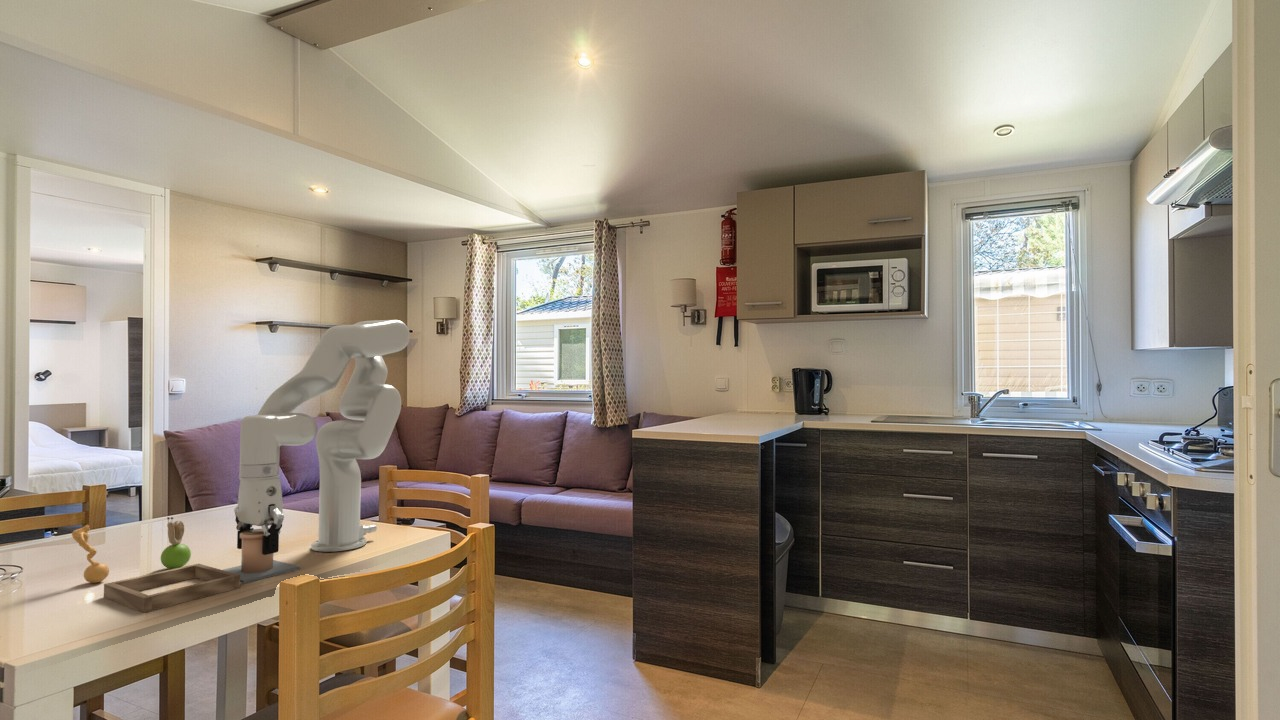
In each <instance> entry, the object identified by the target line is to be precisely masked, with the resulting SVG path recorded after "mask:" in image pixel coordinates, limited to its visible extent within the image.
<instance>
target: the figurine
mask: <svg viewBox="0 0 1280 720" xmlns="http://www.w3.org/2000/svg"><path fill="white" fill-rule="evenodd" d="M90 531H91V528H90V525H88V524H86V525H84V526H83V527H81V528H77V529H75V530H73V531H72V532H71V537H72V539H73V540H74V541H75V542H76V543H78V545H79V546H80V547H81V548H82V549H84V551H86V552H87V553H88V554H86V559H87V561H88V562H89V564H90V565H89V566H87V567H86V568H85V570H84V572H83V578H84V580H85V581H86V582H88V583H89V584H98V583H101V582H104V580H105V579H107V578H108V576H109V573H110V569H109V566H108V565H107V564H105V563H102V562H98V561H94V560H93V559H92V558H94V557H95V555H96V554H97V552H98V551H97V550H96V549H95V548H94V547H93V546H92V545H90V544H89V537H90V535H89V532H90Z"/></svg>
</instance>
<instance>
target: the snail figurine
mask: <svg viewBox="0 0 1280 720" xmlns="http://www.w3.org/2000/svg"><path fill="white" fill-rule="evenodd" d="M166 519H167V538H168V542H169V543H170V545H168V546H167V547H165V548H164V550H163V551H162V552H161V555H160V562H161V564H162V565H163V567H165V568H167V569H168V570H171V569H176V568H180V567H185V566H186V564H188V562H189V561H190V560H191V557H192V553H191V549H190V547H189V546H188V545H185V544H184V543H182V541H183V536H184V533H185V524H184V522H183V521H181V520H176V521H174V522H173V521H169V520H174V516H171V517H170V516H168V517H167V518H166Z"/></svg>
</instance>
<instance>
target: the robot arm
mask: <svg viewBox="0 0 1280 720" xmlns="http://www.w3.org/2000/svg"><path fill="white" fill-rule="evenodd" d="M410 340H411V333H410V329H409V327H408V326H407V325H406V324H405V322H403V321H401V320H398V319H383V320H379V319H375V320H365V321H364V320H363V321H358V322H356V323H354V324H341V325H340V324H339V325H334V326H331V327H329V328H328V329H327V330H326V331H325V332H324V333H323V335H322V336H321V338H320V340H319V341H318V343H317V345H316V346H315V348H314V350H313V351H312V353H311V354H310V356H309V358H308V359H307V361H306V363H305V364H304V366H303V368H302V369H301V370H300V371H299V372H298V373H297V374H295V375H293V376H292V377H291V378H290V379H287V380H286V382H284V383H283V384H282V385H280V386H279V387H278V388H277V389H275V390H274V391H273V392H272V393H271V394H270V395H269V396H268V398H267V399H266V400H265V402H264V403H263V404H262V407H260V410H259V411H258V413H257V414H255V415H254V414H253V415H246V416H244V417H243V418H242V419H241V422H240V432H239V433H240V439H239V441H240V442H239V471H238V472H239V473H238V474H239V475H238V479H239V485H238V495H237V496H238V497H237V506H236V507H235V508H234V510H233V512H234V515H235V519H234V520H235V523H236V530H237V538H236V539H237V541H236V542H237V544H236V546H237V547H236V548H237V549H239V550H242V539H241V538H240V533H241V532H244V531H248V530H253V529H254V528H253V526H257V527H261V529H263V532H264V534H265V536H263V538H262V554H263V555H267V554H272V553H274V554H276V553H278V552H279V547H280V546H279V545H280V539H279V538H280V536H279V535H280V534H281V529H282V528H283V522H284V520H285V516H284V514H283V513H284V512H283V510H284V509H283V508H284V507H283V493H282V485H281V484H282V483H281V479H280V454H281V452H280V451H281V446H289V447H290V446H291V447H295V446H296V447H298V446H299V447H300V446H304V445H306V444H307V445H308V444H309V443H310V442H312V441H313V440H314V439H315V446H316V452H317V456H318V465H319V488H318V489H319V492H318V494H319V498H318V499H319V502H318V509H319V510H318V538H317V539H318V540H315V541H313V542H311V544H310V548H311V550H313V551H316V552H320V553H321V552H325V553H329V552H335V553H336V552H343V551H349V550H350V551H351V550H354V549H355V550H356V549H358V548H361V547H363V546H365V545H366V544H367V538H366V537H364V536H365V535H367V534H371V533H375V532H377V525H376V524H370V525H367V526H366V525H365V524H361V498H362V497H361V489H362V488H361V487H362V475H361V469H360V466H359V463H358V461H357V460H373V459H376V458H378V457H380V456H381V455H382V453H383V452H384V451H385V449H386V447H387V445H388V442H389V441H390V438H391V436H392V433H393V430H394V429H395V427H396V423H397V421H398V419H399V416H400V414H401V410H402V397H401V394H400V392H399V390H398V389H397V388H396V387H394V386H393V385H390V384H386V381H387V378H388V373H389V372H388V371H389V370H388V367H387V365H386V363H385V360H384V358H383V356H385V355H389V354H394V353H398V352H400V351H402V350H404V349H405V348H407V346H408V344H409V342H410ZM353 359H354V362H355V365H354V368H353V372H352V374H351V376H350V378H349V381H348V383H347V385H346V387H345V389H344V391H343V393H342V395H341V397H340V400H339V405H338V411H339V413H340V414H341V416H342V417H344V418H345V419H347V420H342V419H340V420H333V421H329V422H327V423H325V424H323V425H322V426H321V427H320V428H319V429H318V423H317V421H316V420H315V418H313V417H312V416H310V415H309V414H307V413H301V412H294V411H295V410H296V409H298V408H299V407H300V406H301V405H302V404H304V403H306V402H308V401H310V400H311V399H314V398H316V397H319V396H322V395H324V394H327V393H328V392H330V391H332V390H334V389H335V388H336V386H338V384H339V382H340V380H341V378H342V375H343V374H344V372H345V371H346V369H347V367H348V365H349V364H350V363H351V360H353ZM315 437H316V438H315Z"/></svg>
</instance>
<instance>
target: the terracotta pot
mask: <svg viewBox="0 0 1280 720" xmlns="http://www.w3.org/2000/svg"><path fill="white" fill-rule="evenodd" d="M263 536H265V534H264V532H263V529H262V528H255V529H253V530H248V531H244V532H241V533H240V538H241V539H242V549H241V555H240V556H241V561H240V563H241V564H240V566H241V572H243V573H256V572H263V571H267V570H270V569H272V568H273V560H274V555H275V553H272V554H267V555H263V554H262V538H263Z"/></svg>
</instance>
